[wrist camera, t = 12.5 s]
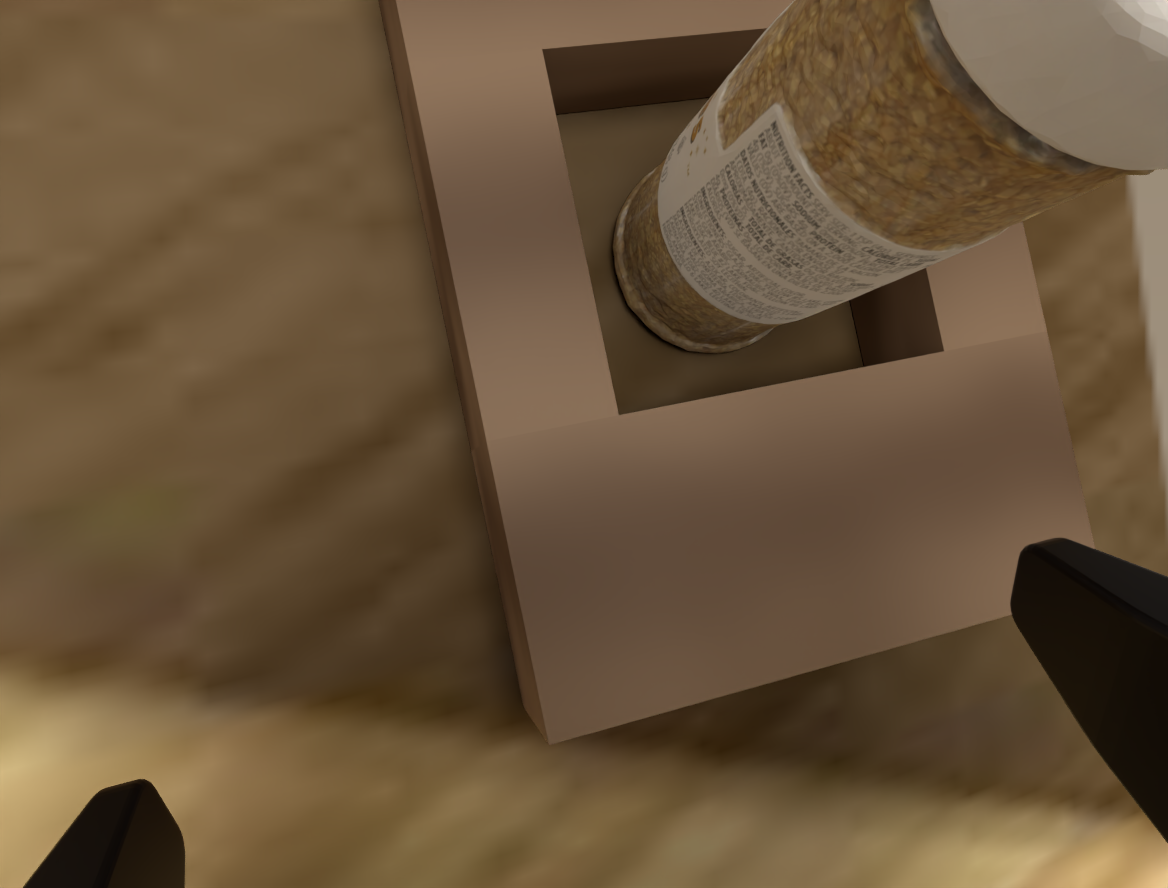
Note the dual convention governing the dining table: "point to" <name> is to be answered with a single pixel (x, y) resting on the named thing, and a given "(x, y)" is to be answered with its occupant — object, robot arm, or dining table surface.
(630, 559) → the socket block
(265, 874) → the dining table surface
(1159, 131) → the sprinkles bottle
